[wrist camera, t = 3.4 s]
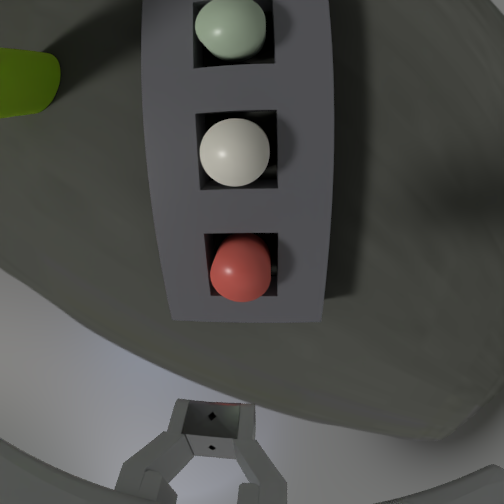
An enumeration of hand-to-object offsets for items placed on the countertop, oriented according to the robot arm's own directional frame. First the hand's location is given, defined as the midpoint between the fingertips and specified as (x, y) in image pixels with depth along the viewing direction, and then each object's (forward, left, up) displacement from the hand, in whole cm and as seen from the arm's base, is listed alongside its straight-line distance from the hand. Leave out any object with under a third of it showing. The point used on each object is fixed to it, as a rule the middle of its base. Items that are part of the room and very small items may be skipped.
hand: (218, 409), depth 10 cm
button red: (0, 0, -13) cm, 13 cm away
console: (-8, 0, -15) cm, 17 cm away
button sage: (-16, 0, -13) cm, 21 cm away
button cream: (-8, 0, -13) cm, 16 cm away
